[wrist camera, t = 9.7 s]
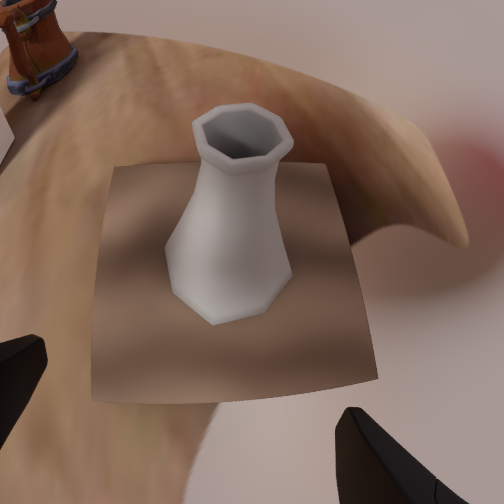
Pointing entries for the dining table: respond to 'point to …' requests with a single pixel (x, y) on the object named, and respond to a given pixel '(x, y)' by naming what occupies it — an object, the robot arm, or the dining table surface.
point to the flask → (232, 217)
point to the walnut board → (234, 332)
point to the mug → (34, 45)
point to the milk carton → (4, 136)
